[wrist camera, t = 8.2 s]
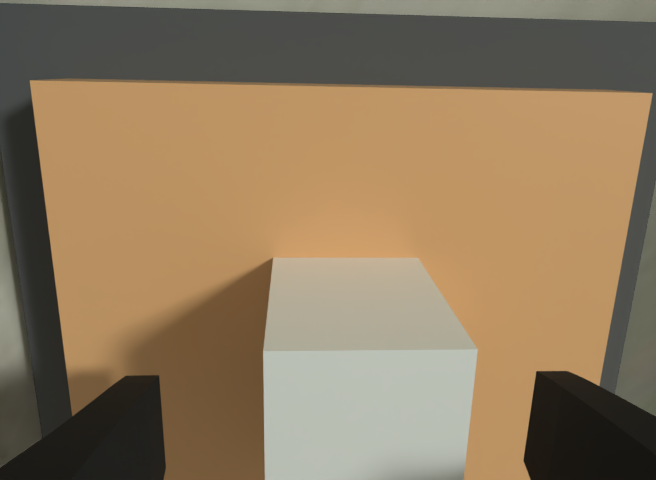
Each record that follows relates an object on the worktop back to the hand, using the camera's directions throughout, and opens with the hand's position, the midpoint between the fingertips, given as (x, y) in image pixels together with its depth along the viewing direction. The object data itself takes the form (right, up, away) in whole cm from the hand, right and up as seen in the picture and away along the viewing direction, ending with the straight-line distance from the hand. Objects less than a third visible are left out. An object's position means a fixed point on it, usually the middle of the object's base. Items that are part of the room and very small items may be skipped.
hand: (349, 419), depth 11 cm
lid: (0, +1, +2) cm, 3 cm away
